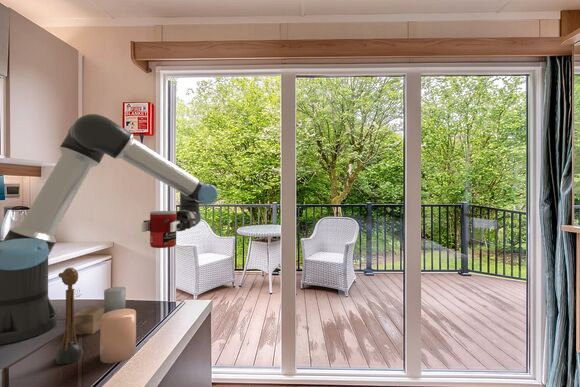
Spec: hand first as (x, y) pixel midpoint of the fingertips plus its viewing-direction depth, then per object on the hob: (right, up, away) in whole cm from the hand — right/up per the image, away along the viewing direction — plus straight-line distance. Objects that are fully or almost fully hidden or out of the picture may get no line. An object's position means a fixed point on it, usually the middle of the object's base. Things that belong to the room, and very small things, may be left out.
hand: (157, 227), depth 89 cm
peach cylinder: (+2, -26, -23) cm, 35 cm away
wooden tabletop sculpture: (-9, -26, -24) cm, 37 cm away
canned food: (0, -7, +5) cm, 8 cm away
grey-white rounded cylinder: (-13, -26, 0) cm, 29 cm away
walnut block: (-13, -26, -11) cm, 31 cm away
